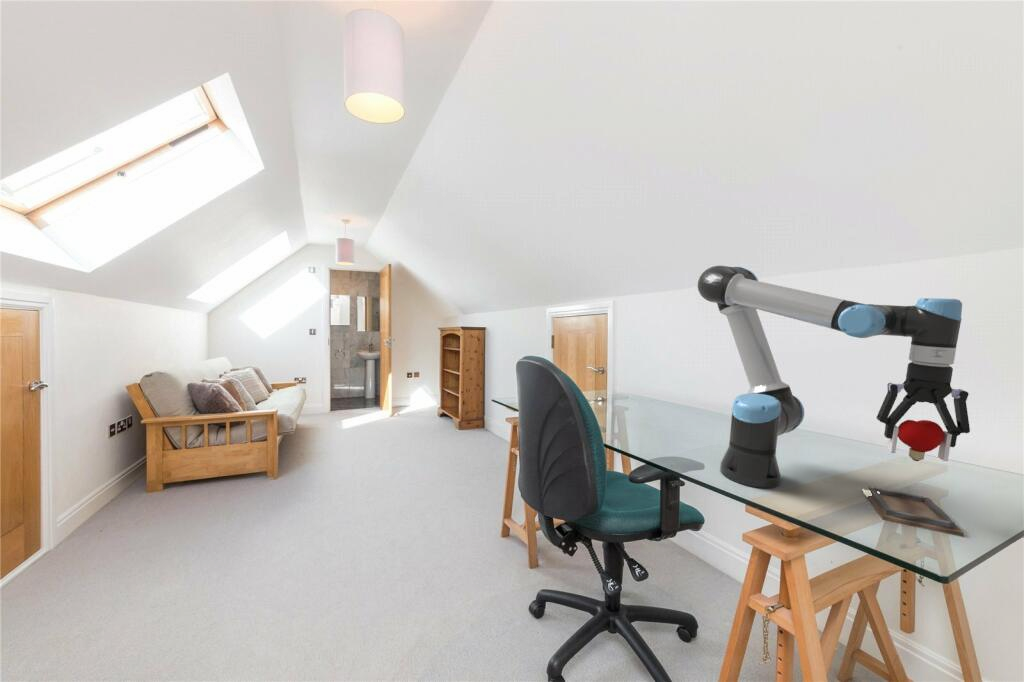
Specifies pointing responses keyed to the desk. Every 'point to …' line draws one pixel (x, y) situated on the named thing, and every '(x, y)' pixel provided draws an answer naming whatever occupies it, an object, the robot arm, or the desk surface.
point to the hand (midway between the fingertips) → (916, 454)
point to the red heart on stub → (920, 437)
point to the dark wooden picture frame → (911, 511)
